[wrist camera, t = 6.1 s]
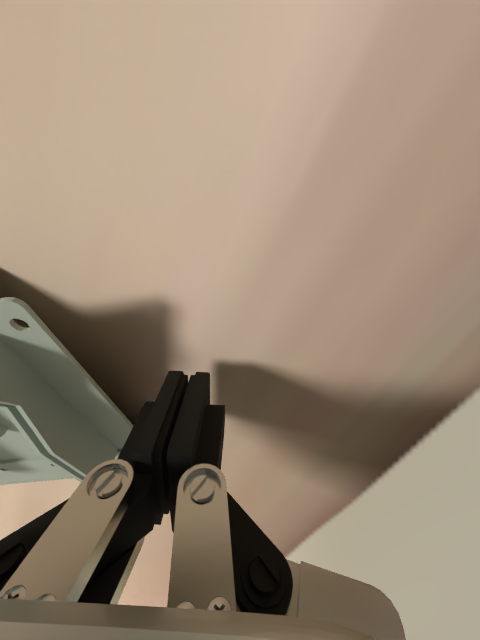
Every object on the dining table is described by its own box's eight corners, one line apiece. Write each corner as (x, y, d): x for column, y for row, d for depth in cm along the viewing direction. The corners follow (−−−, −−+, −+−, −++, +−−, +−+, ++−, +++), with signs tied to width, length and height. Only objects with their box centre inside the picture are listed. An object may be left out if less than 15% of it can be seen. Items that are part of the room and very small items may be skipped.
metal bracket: (-522, 389, 7) (20, 305, 5) (-225, 270, 11) (115, 207, 10) (-41, 526, 16) (202, 507, 15) (17, 431, 20) (209, 410, 19)
